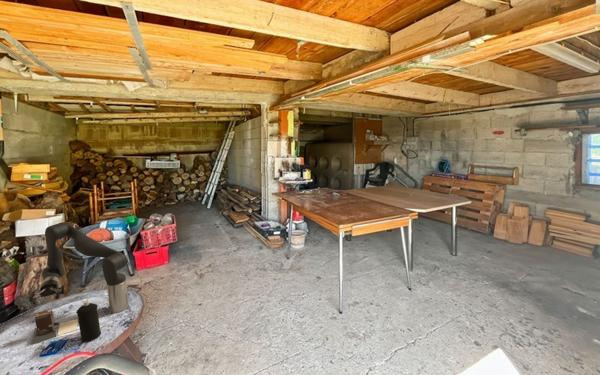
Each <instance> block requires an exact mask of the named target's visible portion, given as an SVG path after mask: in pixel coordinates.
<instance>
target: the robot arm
mask: <svg viewBox="0 0 600 375" xmlns="http://www.w3.org/2000/svg"><path fill="white" fill-rule="evenodd" d="M44 237H45V245H46V250H47V251H46V252H47V258H46V259H47V260H46V266H47V267H46V268H44V269H43V270H42V273H41V277H42V279H43V281H42V282H41V285H40V289H39V291H38V292H35V291H32V292H31V293H30V295H29V297H28V301H29V303H32V305H37V303H38V301H39V300H42V299H43V298H46V297H50V296H54V297H55V300H58V299H59V298H60V296H61V295H65V294H66V288H65V285H64V284H63V285H61V286H60V287H59V285H60V278H63V276H64V275H65V273H66V270H65V269H66V268H64V264H63V259H64V254H63V250H62V249H61V248H60V247H58V246H57V241H59V240H61V239H65V238H70V239H71V240H72V241H73V247H74V249H75V251H76V252H78V253H80V254H82V255H84V256H86V257H89V258H90V257H91V258H102V259H103V260H102V263H101V267H102V268H101V269H102V273H103V277H104V280H105V283H106V289H107V298H108V305H109V306H108V307H109V311H110V313H112V314H117V313H121V312H123V311H125V310H127V309H129V308H130V304H129V294H128V287H127V286H128V285H127V277H126V274H124V273H120V272H118V271H119V270H122V269H123V268H124V267H126V266H127V265H128V263H129V258H128V257H127V255H125V254H124V253H123V252H121V251H118V250H115V249H113V248H111V247H108V246H107V245H105V244H102V243H101V242H99V241H97V240H96V239H93V238H92V237H90V236H88V235H86V234H84V233H83V232H82V231H80V230H78V229H77V228H76V227H74V226H73V225H72V224H70V223H68V222H65V221H64V222H63V221H62V222H59V223H54V224H52V225H49V226H47V227H46V228H45V230H44Z"/></svg>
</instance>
